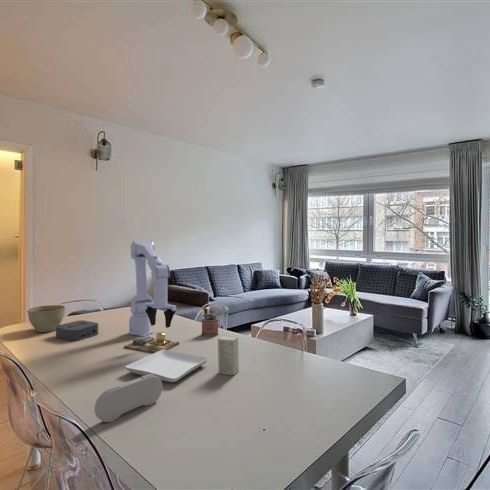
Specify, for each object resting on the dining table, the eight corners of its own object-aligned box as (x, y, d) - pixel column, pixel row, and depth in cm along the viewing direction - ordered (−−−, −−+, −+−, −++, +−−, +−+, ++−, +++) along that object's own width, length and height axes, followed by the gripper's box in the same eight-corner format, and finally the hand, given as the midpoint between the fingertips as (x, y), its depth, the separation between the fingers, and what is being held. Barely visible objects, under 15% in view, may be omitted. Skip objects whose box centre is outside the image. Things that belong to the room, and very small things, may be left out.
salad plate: (209, 365, 130) (209, 356, 130) (175, 388, 111) (175, 378, 111) (163, 356, 139) (163, 348, 139) (123, 376, 120) (123, 366, 120)
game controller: (158, 397, 104) (158, 369, 104) (162, 400, 103) (162, 371, 103) (93, 424, 90) (93, 392, 89) (98, 427, 88) (98, 394, 88)
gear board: (124, 347, 148) (124, 342, 148) (146, 338, 161) (146, 333, 161) (159, 354, 141) (159, 348, 141) (179, 344, 154) (179, 338, 154)
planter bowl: (72, 328, 177) (72, 307, 176) (38, 336, 163) (38, 313, 163) (54, 324, 185) (54, 303, 185) (21, 331, 172) (20, 308, 171)
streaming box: (80, 330, 175) (80, 319, 175) (101, 334, 169) (101, 323, 169) (53, 337, 163) (52, 326, 162) (74, 342, 156) (74, 330, 156)
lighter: (218, 333, 170) (219, 313, 170) (217, 336, 166) (217, 314, 166) (202, 333, 171) (202, 312, 170) (200, 335, 167) (200, 314, 167)
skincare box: (238, 371, 125) (239, 336, 124) (234, 375, 120) (234, 340, 120) (222, 368, 127) (222, 334, 126) (217, 373, 122) (217, 338, 122)
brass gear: (151, 346, 148) (151, 334, 148) (159, 342, 153) (159, 331, 153) (162, 347, 146) (162, 335, 146) (170, 344, 151) (170, 332, 151)
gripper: (140, 294, 148) (140, 326, 149) (169, 296, 142) (169, 330, 143) (151, 291, 154) (151, 322, 155) (179, 294, 149) (179, 326, 149)
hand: (160, 326), depth 149 cm, fingers open, 7 cm apart
